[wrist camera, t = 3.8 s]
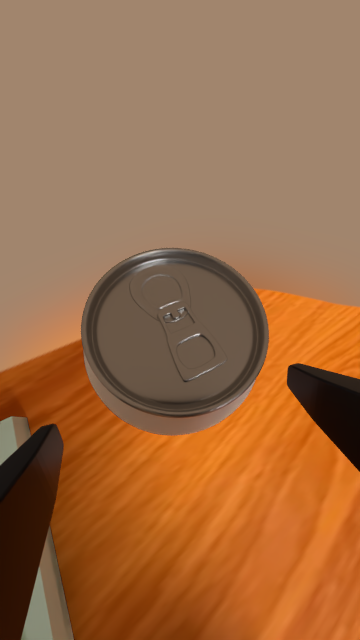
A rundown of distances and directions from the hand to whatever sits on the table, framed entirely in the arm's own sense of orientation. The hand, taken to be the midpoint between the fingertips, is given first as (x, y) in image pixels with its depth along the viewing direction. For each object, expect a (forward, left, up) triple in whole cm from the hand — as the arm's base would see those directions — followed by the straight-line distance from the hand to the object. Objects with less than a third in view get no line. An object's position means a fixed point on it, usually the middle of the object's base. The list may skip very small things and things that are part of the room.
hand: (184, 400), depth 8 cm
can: (+1, -2, -9) cm, 10 cm away
